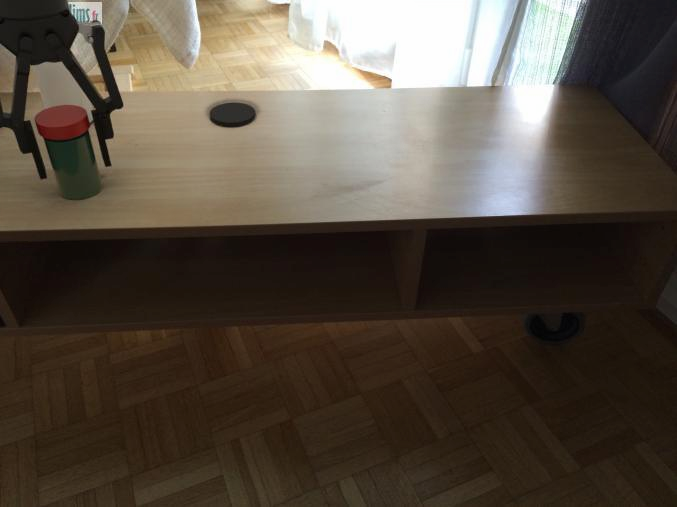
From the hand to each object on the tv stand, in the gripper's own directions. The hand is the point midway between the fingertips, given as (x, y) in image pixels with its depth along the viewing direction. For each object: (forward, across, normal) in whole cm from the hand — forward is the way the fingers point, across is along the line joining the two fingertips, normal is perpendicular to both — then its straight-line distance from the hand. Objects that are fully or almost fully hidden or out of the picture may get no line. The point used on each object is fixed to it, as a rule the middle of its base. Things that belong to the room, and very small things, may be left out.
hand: (75, 167), depth 76 cm
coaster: (+3, +24, +12) cm, 27 cm away
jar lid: (-7, 0, 0) cm, 7 cm away
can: (+3, +1, +20) cm, 20 cm away
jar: (+3, 0, 0) cm, 3 cm away
